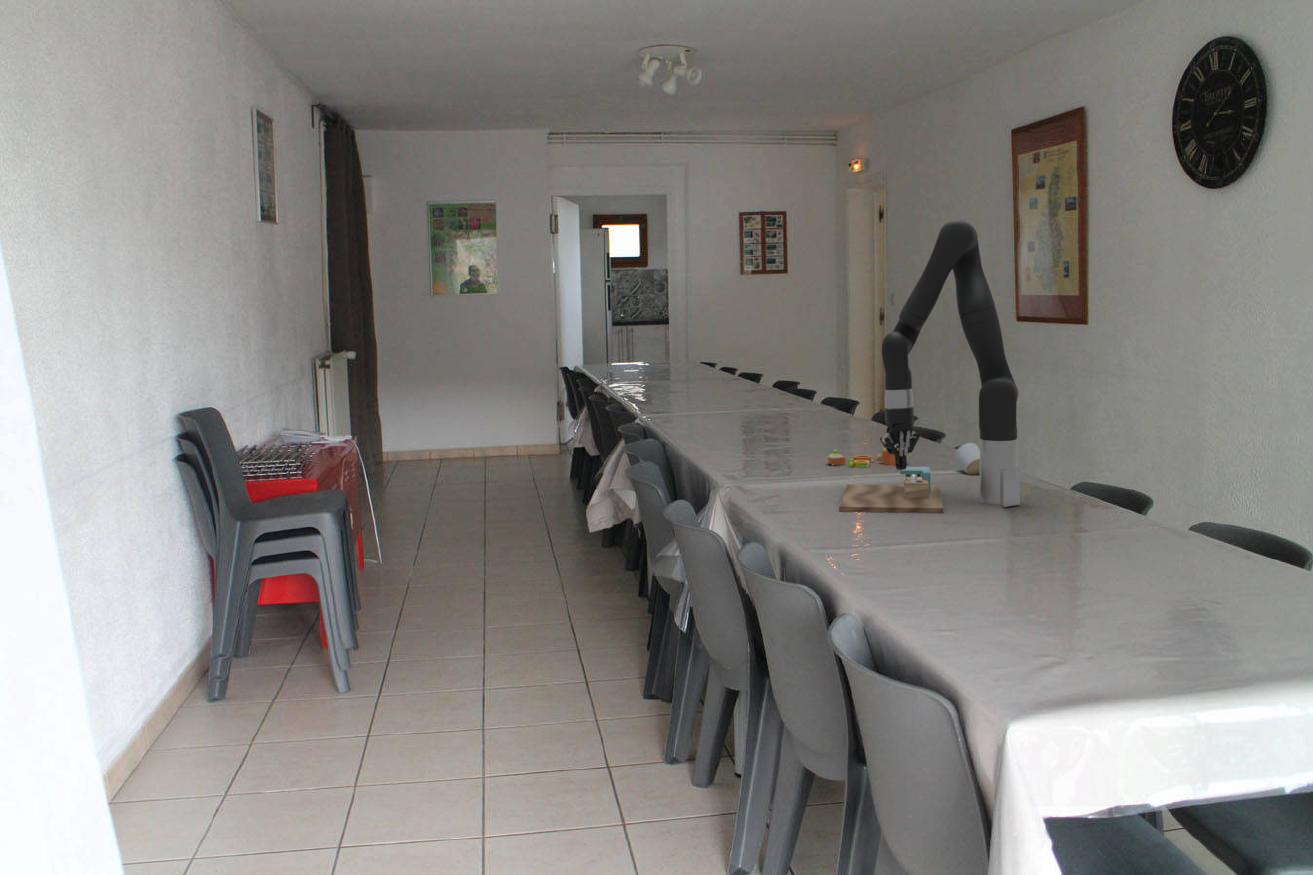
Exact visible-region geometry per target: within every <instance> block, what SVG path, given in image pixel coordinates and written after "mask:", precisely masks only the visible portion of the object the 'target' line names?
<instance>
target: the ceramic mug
mask: <svg viewBox="0 0 1313 875" xmlns="http://www.w3.org/2000/svg"><path fill="white" fill-rule="evenodd" d="M954 457H955V460H956V461H957V462H958V464H959V466H960V467H961V468H962V470H963V471H964V473H966V474H967V475H980V446H978V444H976V443H974V442H967V443H964V444H963V445H961V446H959V447H958V448H957V450H956V451H955V455H954Z"/></svg>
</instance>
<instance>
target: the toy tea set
mask: <svg viewBox="0 0 1313 875" xmlns="http://www.w3.org/2000/svg"><path fill="white" fill-rule="evenodd" d="M881 451H882V452H881V454H877V457H876V458H877V461H880V462H883V464H884V466H889V465H890V466H892V467H896V466H895V456H894V455H892V454H889V453H888V451H887V450H886V448H885V447H883V449H882V450H881ZM911 453H912V452H911ZM911 453H908V455H907V457H910V456H911ZM827 460H828V465H829V464H834V465H840V466H844V465H843V464H846V460H847V457H846V456H844V455H842V454H841V453H838V449H835V448H834V449H833V450H832V453H830V454H829V455H827ZM848 461H849V462H848V466H849V467H854V466H855V467H854V468H856V467H860V468H859V469H868V468H870V464H871V463H874V459H872V456H871V455H865V454H864V455H863V454H861V455H859V454H858V455H854V456H853V458H850V459H849V460H848ZM834 465H833V466H834ZM874 467H875V468H876V466H875V465H874Z"/></svg>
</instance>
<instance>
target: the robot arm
mask: <svg viewBox="0 0 1313 875" xmlns="http://www.w3.org/2000/svg"><path fill="white" fill-rule="evenodd" d="M938 232H939V233H938V235H937V237H936V238H937V239H936V242H935V244H934V247H933V250H932V253H931V255H930V258H929V259H928V261H927V264H926V266H925V268H924V270H923V271H922V273H921V275H920V278H918V281H917V282H916V284H915V285H914V288H913V290H912V291H911V293H910V295H909V296H908V298H907V300H906V302H905V303H904V305H903V307H902V308H901V311H900V313H899V316H898V318H899V319H898V321H897V323H896V325H895V327H894V329H893V331H891V332H889V333H888V334H886V335H885V336H884V338H883V339H882V342H881V356H882V362H883V363H882V364H883V367H884V368H883V369H884V389H885V392H884V414H885V415H884V416H885V417H884V420H885V421H884V422H885V424H886V426H887V427H886V431H885V432H886V433H885V434H884V436H882V437H881V436H880V438H879V441H880V443H881V444H882V445H883V448H886V450H887V451H888V453H889V454H892V455H894V456H895V466H894V467H895V468H896V470H897V471H900V470H905V469H906V467H908V466H907V464H908V461H907V460H908V458H907V457H908V456H907V455H908V453H913V451H914V449H915V447H916V445H917V443H918V441H919V440H920V437H921V435H920V433H916V432H915V431H914V427H913V423H914V421H915V420H914V418H915V417H914V416H915V410H914V409H915V408H914V395H913V382H912V381H913V380H912V371H911V369H910V367H909V354H910V353H911V351H912V350H913V348H914V346H915V344H916V342H917V340H918V338H919V335H920V333H921V330H922V328H923V326H924V325H925V324H926V322H927V321H928V318H929V317H930V315H931V314H932V311H933V310H934V308H935V306H936V304H937V302H938V299H939V297H940V294H941V292H942V290H943V287H944V285H945V282H946V281H947V279H948V276H949V275H950V274H951V272H953V276H954V281H955V282H954V283H955V291H956V292H955V293H956V294H955V296H956V304H957V311H958V312H957V313H958V316H959V320H960V324H961V327H962V331H963V334H964V336H965V339H966V342H967V343H968V347H969V348H970V350H971V352H972V355H973V356H974V358H975V361H976V364H977V369H978V374H979V378H980V386H981V388H980V390H979V392H978V429H979V449H980V474H979V502H980V503H982V504H987V505H998V506H999V505H1000V506H1002V508H1008V507H1013V506H1020V504H1021V503H1020V502H1021V500H1020V499H1021V498H1020V496H1021V491H1020V490H1021V469H1020V468H1018V425H1017V424H1018V423H1017V402H1018V400H1019V399H1018V398H1019V389H1018V387H1017V384H1016V383H1015V379H1014V377H1013V374H1012V372H1011V369H1010V367H1009V364H1008V361H1007V358H1006V357H1007V356H1006V353H1005V348H1004V342H1003V341H1004V338H1003V334H1002V330H1001V324H1000V320H999V316H998V312H997V307H996V304H995V301H994V298H993V294H992V292H991V289H990V285H989V283H988V281H987V279H986V276H985V272H984V270H983V266H982V259H981V253H980V246H979V238H978V233H977V230H976V228H975V227H974V226H973V225H972V224H971V223H969V222H967V221H965V220H962V219H952V220H949V221H948V222H946V223H945V224H944V225H942V227H941V228H940V229H939V231H938Z"/></svg>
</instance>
